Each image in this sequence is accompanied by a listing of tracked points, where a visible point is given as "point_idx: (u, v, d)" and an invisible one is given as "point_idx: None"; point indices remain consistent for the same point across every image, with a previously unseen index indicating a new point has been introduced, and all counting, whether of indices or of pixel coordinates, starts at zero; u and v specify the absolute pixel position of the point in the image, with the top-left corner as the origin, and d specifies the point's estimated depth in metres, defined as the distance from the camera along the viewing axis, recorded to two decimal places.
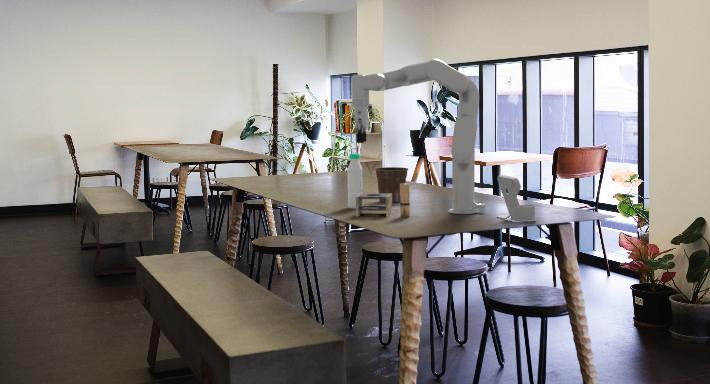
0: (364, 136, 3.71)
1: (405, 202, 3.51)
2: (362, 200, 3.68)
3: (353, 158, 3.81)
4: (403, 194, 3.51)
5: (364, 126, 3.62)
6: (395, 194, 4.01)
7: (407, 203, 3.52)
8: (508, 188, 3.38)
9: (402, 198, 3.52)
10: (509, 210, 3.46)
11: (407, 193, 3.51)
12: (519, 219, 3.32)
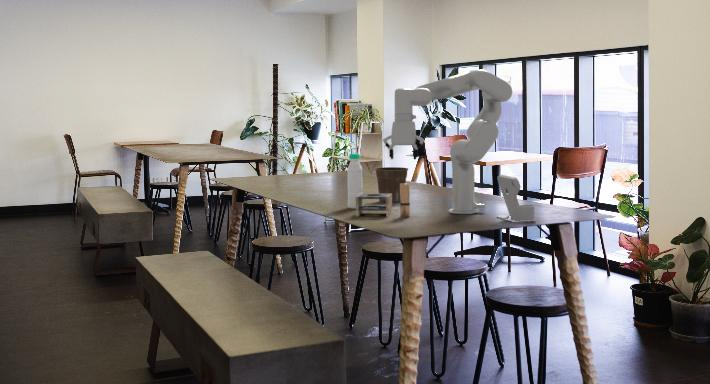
0: None
1: (405, 202, 3.51)
2: (362, 200, 3.68)
3: (353, 158, 3.81)
4: (403, 194, 3.51)
5: (415, 142, 3.52)
6: (395, 194, 4.01)
7: (407, 203, 3.52)
8: (508, 188, 3.38)
9: (402, 198, 3.52)
10: (509, 210, 3.46)
11: (407, 193, 3.51)
12: (519, 219, 3.32)
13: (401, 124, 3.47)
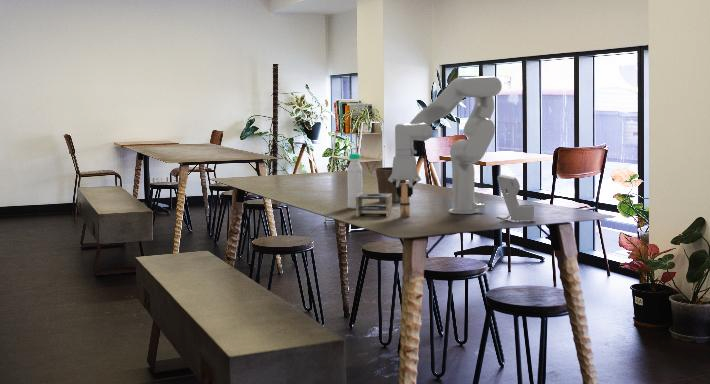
0: None
1: (405, 202, 3.51)
2: (362, 200, 3.68)
3: (353, 158, 3.81)
4: (403, 194, 3.51)
5: None
6: (395, 194, 4.01)
7: (407, 203, 3.52)
8: (507, 188, 3.39)
9: (402, 198, 3.52)
10: (509, 210, 3.46)
11: (407, 193, 3.51)
12: (519, 219, 3.32)
13: (401, 159, 3.49)
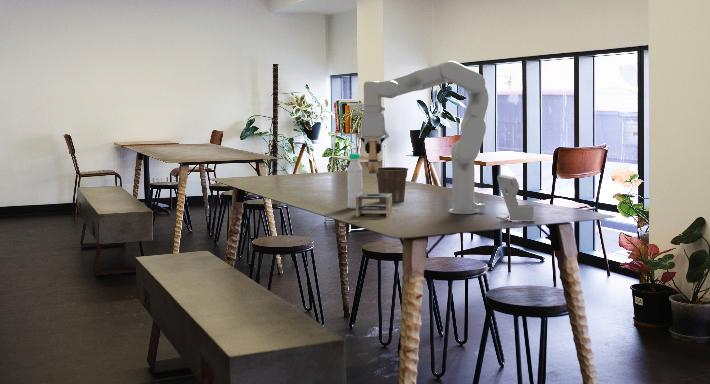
0: None
1: (373, 158, 3.58)
2: (362, 200, 3.68)
3: (353, 158, 3.81)
4: (371, 151, 3.57)
5: None
6: (395, 194, 4.01)
7: (375, 159, 3.58)
8: (507, 188, 3.39)
9: (370, 154, 3.58)
10: (509, 210, 3.47)
11: (375, 149, 3.58)
12: (518, 219, 3.32)
13: (370, 116, 3.55)
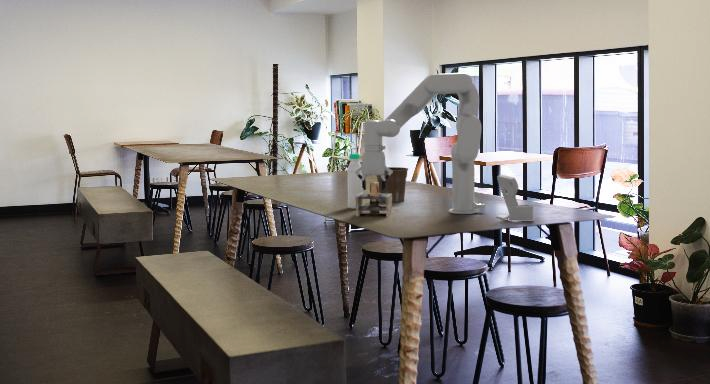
0: (365, 184, 3.62)
1: (374, 200, 3.60)
2: (362, 200, 3.68)
3: (353, 158, 3.81)
4: (372, 193, 3.59)
5: (385, 171, 3.61)
6: (395, 194, 4.01)
7: (376, 201, 3.60)
8: (507, 188, 3.39)
9: None
10: (509, 210, 3.47)
11: (376, 191, 3.60)
12: (517, 218, 3.32)
13: (370, 155, 3.57)
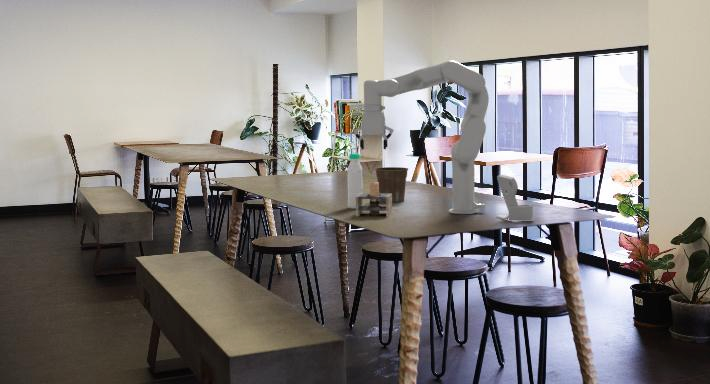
0: (363, 143, 3.61)
1: (374, 200, 3.60)
2: (362, 200, 3.68)
3: (353, 158, 3.81)
4: (372, 193, 3.59)
5: (385, 132, 3.60)
6: (395, 194, 4.01)
7: (376, 201, 3.60)
8: (506, 188, 3.39)
9: None
10: (509, 210, 3.47)
11: (376, 191, 3.60)
12: (516, 218, 3.33)
13: (370, 115, 3.55)
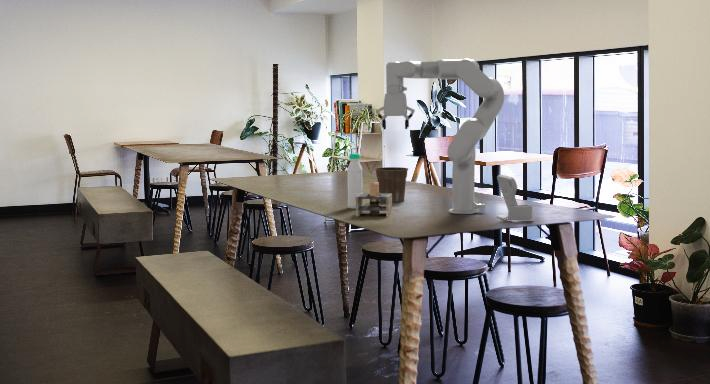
0: (385, 123, 3.72)
1: (374, 200, 3.60)
2: (362, 200, 3.68)
3: (353, 158, 3.81)
4: (372, 193, 3.59)
5: (406, 112, 3.71)
6: (395, 194, 4.01)
7: (376, 201, 3.60)
8: (506, 188, 3.39)
9: None
10: None
11: (376, 191, 3.60)
12: (516, 218, 3.33)
13: (392, 96, 3.67)
